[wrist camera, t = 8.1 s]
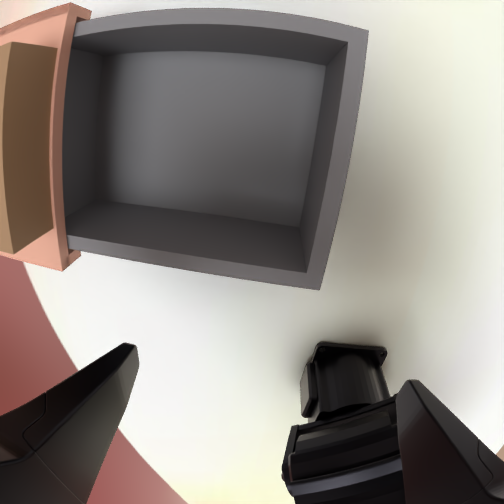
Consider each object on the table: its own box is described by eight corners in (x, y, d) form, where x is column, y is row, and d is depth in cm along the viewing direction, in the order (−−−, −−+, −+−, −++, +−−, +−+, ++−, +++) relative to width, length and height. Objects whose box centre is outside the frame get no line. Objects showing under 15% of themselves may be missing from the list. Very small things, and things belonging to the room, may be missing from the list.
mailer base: (338, 59, 16) (368, 30, 9) (307, 236, 21) (319, 290, 14) (101, 48, 16) (38, 33, 10) (92, 206, 21) (35, 241, 15)
